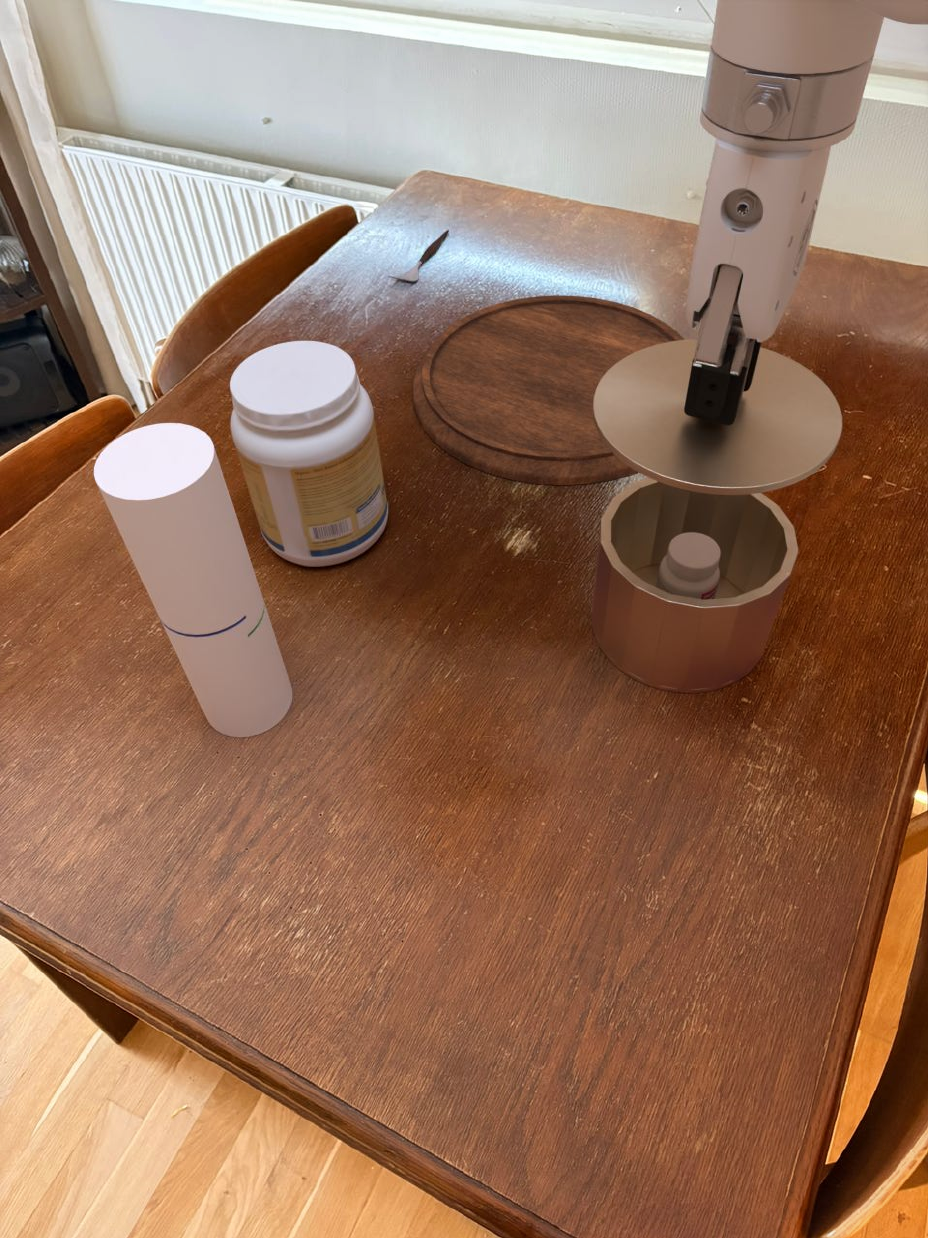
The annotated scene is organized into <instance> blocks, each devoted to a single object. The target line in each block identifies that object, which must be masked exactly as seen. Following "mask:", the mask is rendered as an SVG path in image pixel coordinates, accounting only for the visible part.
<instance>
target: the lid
mask: <svg viewBox="0 0 928 1238" xmlns="http://www.w3.org/2000/svg"><path fill="white" fill-rule="evenodd" d="M737 339H738V336H736V335H731V334H728V337H727V343H729V344H733V345H734V349H735V347H736V343H737ZM755 340H756V339H751V338H749V343H748V347H747V351H746V355H745V359H744V363H743V367H748V368H747V372H746V377H745V381H744V385H743V390H742V394H741V398H740V402H739V407H738V411H737V415H736V418H735V420H734V423H733V424H731V425H724V424H720V423H716V422H712V421H708V420H704V419H700V418H696V417H692V416H688V415H686V414H685V412H684V407H685V401H686V396H687V390H688V384H689V379H690V373H691V367H692V362H693V359H694V356H695V351H696V346H697V341H698V338H693V339H684V340H679V341H671V342H666V343H661V344H657V345H654V346H650V347H647V348H644V349H642V350H639V351H637V352H634V353H632V354H631V355H629V356H627V357H625V358H623V359H622V360H620V361H619V362H617V363H616V364H615V365H614V366H613V367H611V368H610V369H609V370H608V371H607V372H606V374H605V375H604V376H603V377H602V379H601V380H600V382H599V384H598V386H597V388H596V391H595V394H594V399H593V419H594V424H595V427H596V429H597V432H598V434H599V436H600V437H601V439H602V441H603V442H604V444H605V445H606V446H607V447H608V448H609V450H610V451H611V452H612V453H613V454H614V455H615V456H616V457H618V458H619V459H620V460H621V461H622V462H624V463H625V464H626V465H628V466H629V467H631V468H632V469H634V470H636V471H637V472H638V473H639V474H641V475H643V476H645V477H646V478H651V479H654V480H656V481H658V482H661V483H664V484H667V485H670V486H673V487H676V488H680V489H684V490H689V491H693V492H700V493H707V494H718V495H747V494H755V493H762V494H763V493H767V492H772V491H776V490H781V489H783V488H786V487H789V486H792V485H795V484H797V483H798V482H801V481H803V480H805V479H807V478H809V477H810V476H811V475H813V474H815V473H816V472H817V471H819V470H820V469H821V468H822V467H823V466H824V465H826V464H827V462H828V461H829V460H830V459H831V457H832V456H833V454H834V453H835V451H836V449H837V447H838V445H839V443H840V442H839V441H840V439H841V434H842V431H843V416H842V411H841V407H840V404H839V402H838V400H837V398H836V396H835V394H833V392H832V390H831V389H830V387H828V385H826V383H825V382H824V381H823V380H822V379H821V378H820V377H819V376H818V375H817V374H815V373H814V372H813V371H812V370H810V369H808V368H807V367H805V366H804V365H802V364H801V363H799V362H798V361H795V360H794V359H792V358H790V357H788V356H785V355H784V354H781V353H779V352H776V351H774V350H770V349H767V348H765V347H762V346H761V347H760V351H759V355H758V359H757V364H756V368H755V372H754V376H753V380H752V384H751V386H750V388H749V390H748V391H745V392H743V391H744V387H745V382H746V378H747V374H748V369H749V365H750V361H751V357H752V352H753V348H754V344H755Z"/></svg>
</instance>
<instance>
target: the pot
mask: <svg viewBox="0 0 928 1238" xmlns="http://www.w3.org/2000/svg"><path fill="white" fill-rule="evenodd" d="M689 532H694V533H701V534H704V535H706V536H709V537H710V538H712V539H713V540H714V541H715V542H716V543H717V544H718V546H719V548H720V552H721V554H720V560H719V565H718V567H719V570H720V578H719V583H718V587H717V590H716V594H715V598H714V599H708V600H701V599H696V598H690V597H685V596H679V595H674V594H669V593H667V592H665V591H663V590H661V589H659V588H656V584H657V579H658V573H659V568H660V564H661V562H662V560H663V558H664V557H665V556H666V555H667V552H668V547H669V544H670V542H671V540H672V539H673V538H674V537H676V536H678V535H680V534H683V533H689ZM798 554H799V546H798V540H797V536H796V531H795V527H794V525H793V524H792V522H791V521H790V520H789V518H788V517H787V516H786V513H784V511H783V510H782V508H781V507H780V506H779V505H778V504H777V503H776V502H774V501H773V500H772V499H770V498H769V497H767V496H766V495H765V494H763V493H755V494H747V495H718V494H707V493H700V492H693V491H689V490H684V489H680V488H676V487H673V486H670V485H667V484H664V483H661V482H658V481H656V480H654V479H651V478H649V477H646V478H643V479H640V480H637V481H634V482H632V483H631V484H630V485H628V486H627V487H625V488H624V489H623V490H622V491H621V492H619V493H617V494H616V495H615V496H613V498H612V499H611V501H610V502H609V504H608V505H607V508H606V510H605V511H604V513H603V514H602V516H601V519H600V524H599V533H598V543H597V554H596V562H595V563H596V564H595V573H594V583H593V592H592V603H591V627H592V632H593V635H594V638H595V640H596V641H595V642H596V643H597V645H598V646H599V649H600V650H601V652H602V653H603V654H604V656H605V657H606V658H607V660H609V662H610V663H611V664H612V665H614V666H615V667H616V668H617V669H618V670H619V671H621V672H622V673H624V674H625V675H627V676H628V677H630V678H631V679H633V680H635V681H637V682H638V683H641V684H644V685H647V686H649V687H651V688H655V689H658V690H662V691H665V692H666V691H667V692H671V693H681V694H699V693H707V692H713V691H716V690H720V689H723V688H725V687H729V686H731V685H733V684H735V683H736V682H738V681H740V680H742V679H743V678H744V677H746V676H747V675H748V674H750V672H752V671H753V670H754V668H756V666H757V665H758V663H759V662H760V660H761V659H762V658H763V655H764V653H765V649H766V647H767V644H768V642H769V638H770V636H771V633H772V629H773V627H774V624H775V621H776V618H777V616H778V613H779V609H780V607H781V604H782V601H783V598H784V595H785V592H786V589H787V587H788V583H789V580H790V578H791V574H792V572H793V569H794V567H795V564H796V560H797V556H798Z"/></svg>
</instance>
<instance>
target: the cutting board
mask: <svg viewBox="0 0 928 1238" xmlns="http://www.w3.org/2000/svg"><path fill="white" fill-rule="evenodd" d="M679 340H685V339H684V337H683V336H682V335H681V334H680V333H679V332H677V330H675V329H674V328H673V327H671V326H670V325H669V324H668V323H666V322H664V321H663V320H661V319H659V318H657V317H655V315H653V314H650V313H648V312H645V311H644V310H640V309H638V308H635V307H634V306H630V305H627V304H624V303H620V302H617V301H613V300H612V301H611V300H608V299H603V298H597V297H590V296H580V295H561V294H559V295H558V294H556V295H538V296H537V295H536V296H531V297H523V298H515V299H512V300H508V301H503V302H498V303H496V304H494V305H490V306H487V307H485V308H481V309H479V310H477V311H475V312H473V313H470V314H468V315H466V316H465V317H463V318H461V319H459V320H458V321H456V322H454V323H453V324H451V326H449V327H448V328H446V330H444V331H443V332H442V333H440V335H439V336H438V337H437V338H436V340H435V341H434V342H433V343H432V344H431V346H430V348H428V350H427V351H426V353H424V355H423V356H422V358H421V360H420V362H419V364H418V365H417V368H416V371H415V374H414V378H413V382H412V401H413V407H414V411H415V414H416V417H417V420H418V421H419V423H420V425H421V427H422V429H423V430H424V432H425V433H426V434H427V435H428V437H430V439H431V440H432V441H433V442H434V444H436V446H438V447H440V448H441V449H442V450H443V451H445V452H446V453H447V455H450V456H451V457H453V458H455V459H456V460H458V461H460V462H461V463H463V464H465V465H467V466H469V467H471V468H474V469H476V470H478V471H481V472H483V473H486V474H487V475H488V474H489V475H491V476H496V477H500V478H503V479H507V480H510V481H515V482H521V483H528V484H535V485H548V486H549V485H550V486H575V485H589V484H595V483H596V484H597V483H602V482H609V481H614V480H618V479H621V478H624V477H629V476H633V475H635V474H638V473H639V472H637V471H636V470H634V469H632V468H631V467H629V466H628V465H626V464H625V463H624V462H622V461H621V460H620V459H619V458H618V457H616V456H615V455H614V454H613V453H612V452H611V451H610V450H609V448H608V447H607V446H606V445H605V444H604V442H603V441H602V439H601V437H600V436H599V434H598V432H597V429H596V427H595V424H594V419H593V399H594V394H595V391H596V388H597V386H598V384H599V382H600V380H601V379H602V377H603V376H604V375H605V374H606V372H607V371H608V370H609V369H610V368H611V367H613V366H614V365H615V364H616V363H617V362H619V361H620V360H622V359H623V358H625V357H627V356H629V355H631V354H632V353H634V352H637V351H639V350H642V349H644V348H647V347H650V346H654V345H657V344H661V343H666V342H671V341H679Z"/></svg>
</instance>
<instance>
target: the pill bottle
mask: <svg viewBox="0 0 928 1238" xmlns="http://www.w3.org/2000/svg"><path fill="white" fill-rule="evenodd" d="M720 554H721V552H720V548H719V546H718V544H717V543H716V542H715V541H714V540H713V539H712V538H710V537H709V536H706V535H704V534H701V533H694V532H689V533H683V534H680V535H678V536H676V537H674V538H673V539H672V540H671V542H670V544H669V547H668V552H667V555H666V556H665V557H664V558H663V560H662V562H661V564H660V568H659V573H658V579H657V584H656V588H659V589H661V590H663V591H665V592H667V593H669V594H674V595H679V596H685V597H690V598H696V599H701V600H708V599H714V598H715V594H716V590H717V587H718V583H719V578H720V570H719V567H718V565H719V560H720Z"/></svg>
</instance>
